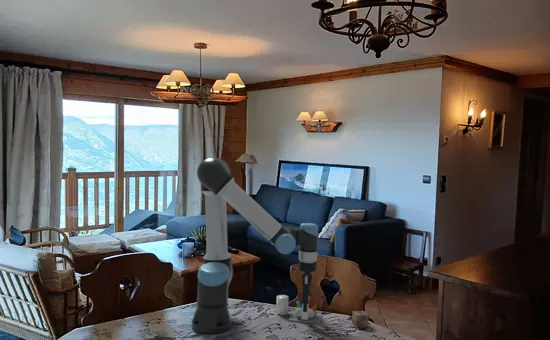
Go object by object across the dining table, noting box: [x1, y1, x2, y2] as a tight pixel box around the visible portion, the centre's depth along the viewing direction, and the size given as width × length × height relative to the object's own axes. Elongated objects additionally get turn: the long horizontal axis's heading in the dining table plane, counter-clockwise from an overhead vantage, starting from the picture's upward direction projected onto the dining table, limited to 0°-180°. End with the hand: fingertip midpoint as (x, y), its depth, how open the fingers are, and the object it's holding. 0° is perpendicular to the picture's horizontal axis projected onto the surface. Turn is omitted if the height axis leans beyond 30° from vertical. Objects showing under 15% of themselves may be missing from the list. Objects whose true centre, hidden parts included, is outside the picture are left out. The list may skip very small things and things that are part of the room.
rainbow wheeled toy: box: [293, 298, 318, 318], centre depth 181 cm, size 8×10×7 cm
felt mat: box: [288, 310, 323, 325], centre depth 181 cm, size 13×11×1 cm
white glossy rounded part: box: [275, 294, 289, 316], centre depth 185 cm, size 5×5×7 cm
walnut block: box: [351, 310, 369, 328], centre depth 175 cm, size 5×5×5 cm
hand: (305, 315), depth 181 cm, fingers closed on rainbow wheeled toy, 8 cm apart
